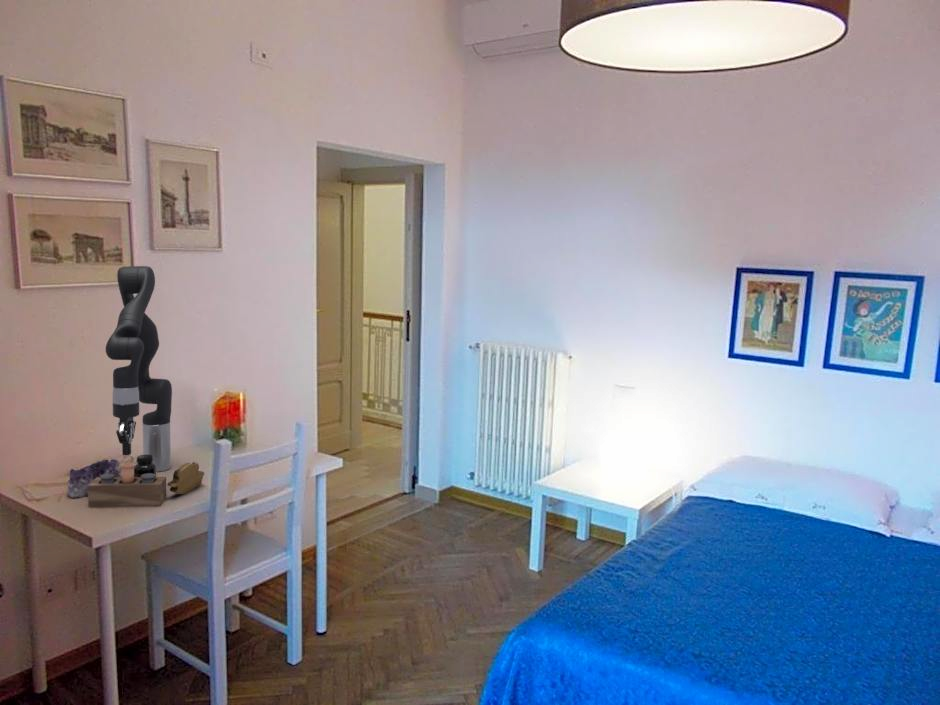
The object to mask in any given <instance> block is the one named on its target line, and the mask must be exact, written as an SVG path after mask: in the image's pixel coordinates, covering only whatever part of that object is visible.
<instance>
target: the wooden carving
mask: <svg viewBox="0 0 940 705" xmlns="http://www.w3.org/2000/svg"><path fill="white" fill-rule="evenodd" d="M199 468H200V466H199V463H198V462H195V461H193V462H192V463H191V462H185V463H184V464H182V465H181V466H179V467H178V468H177V469H175V470H174V472H173V474H172V480H171V481H168V482H166V486H167V487H169V491H170V492H173V493H175V494H177V495H185V494H188V493H190V492H191V491H193V489H194V488H195V487H196V486H197V487H198V486H200V485H202V482H203V479H204V476H205V472H204V471H203V470H199Z"/></svg>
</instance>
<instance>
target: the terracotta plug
mask: <svg viewBox="0 0 940 705" xmlns="http://www.w3.org/2000/svg"><path fill="white" fill-rule="evenodd" d="M135 465H136V463H135V462H133V461H132V462H131V461H127V462H126V461H125V462H121V463H119V466H120V468H121V469H120V470H121V471H122V484H126V483H134V466H135Z"/></svg>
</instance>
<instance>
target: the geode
mask: <svg viewBox="0 0 940 705" xmlns="http://www.w3.org/2000/svg"><path fill="white" fill-rule="evenodd" d="M119 466H120V462H119V461H118V460H116V459H110V461H109V459H104V460H96V461H95V462H92V463H91V464H90V465H86V466H84V467H82V468H79V470H78V469H77V470H76V469H73V468H71V470H70V471H69V479H68V482H67V492H66V494H67V497H68V498H69V499H71V500H75V499H76V500H77V499H83V498H87V497H88V485H89V484H90V483H91V482H92V481H93V480H94V479H95V478H96V477H100V476H101V475H103V474H115V477H122V471H121V469H120V468H119Z"/></svg>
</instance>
